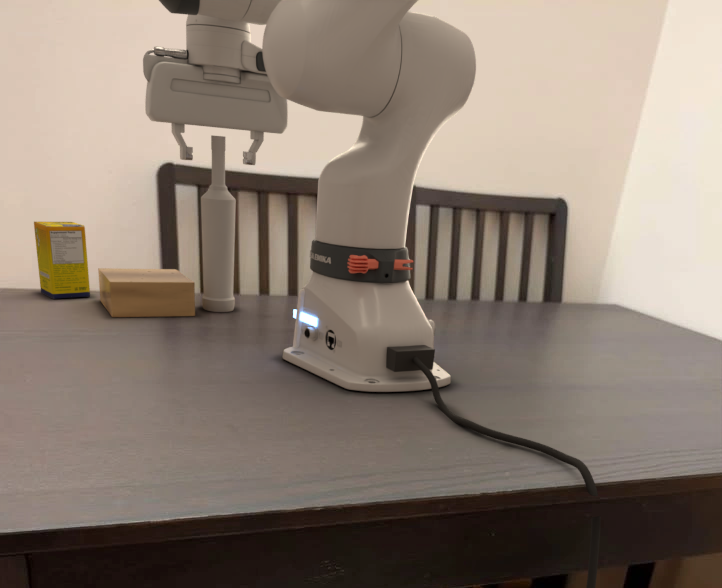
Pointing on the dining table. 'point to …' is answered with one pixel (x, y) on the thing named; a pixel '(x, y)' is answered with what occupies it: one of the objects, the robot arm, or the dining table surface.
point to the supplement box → (62, 259)
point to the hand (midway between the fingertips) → (218, 162)
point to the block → (146, 292)
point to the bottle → (218, 236)
